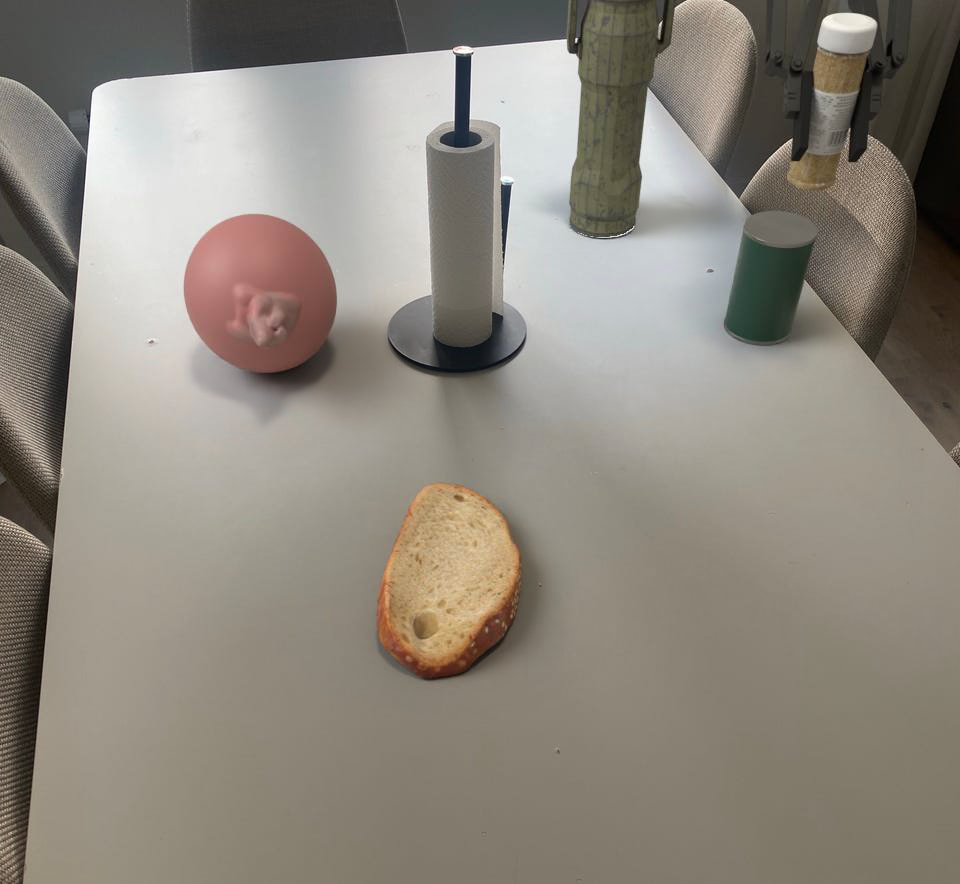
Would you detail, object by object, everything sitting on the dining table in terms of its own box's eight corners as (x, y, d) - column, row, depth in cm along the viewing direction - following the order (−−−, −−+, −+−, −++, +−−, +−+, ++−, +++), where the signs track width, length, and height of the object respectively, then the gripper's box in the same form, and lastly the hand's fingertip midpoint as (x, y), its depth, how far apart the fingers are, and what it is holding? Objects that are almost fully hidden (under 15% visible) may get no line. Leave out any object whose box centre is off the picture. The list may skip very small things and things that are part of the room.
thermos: (656, 235, 121) (701, -106, 95) (566, 243, 120) (586, -100, 93) (637, 204, 127) (675, -126, 100) (551, 211, 126) (567, -120, 99)
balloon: (196, 435, 94) (155, 292, 83) (206, 328, 107) (172, 192, 96) (350, 421, 96) (330, 279, 84) (342, 317, 109) (324, 181, 97)
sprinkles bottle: (819, 169, 91) (861, 8, 81) (843, 189, 88) (889, 25, 78) (776, 175, 90) (813, 13, 80) (798, 195, 88) (839, 30, 77)
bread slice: (451, 484, 89) (450, 452, 86) (590, 584, 80) (594, 552, 78) (295, 576, 81) (288, 544, 78) (430, 698, 73) (428, 667, 70)
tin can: (792, 314, 108) (818, 214, 100) (790, 349, 104) (817, 248, 95) (726, 306, 110) (746, 207, 101) (721, 340, 105) (741, 240, 96)
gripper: (930, -92, 85) (911, 174, 87) (736, -93, 86) (721, 171, 88) (968, -155, 78) (946, 137, 80) (755, -156, 79) (738, 134, 81)
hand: (828, 154), depth 84 cm, fingers closed on sprinkles bottle, 4 cm apart
